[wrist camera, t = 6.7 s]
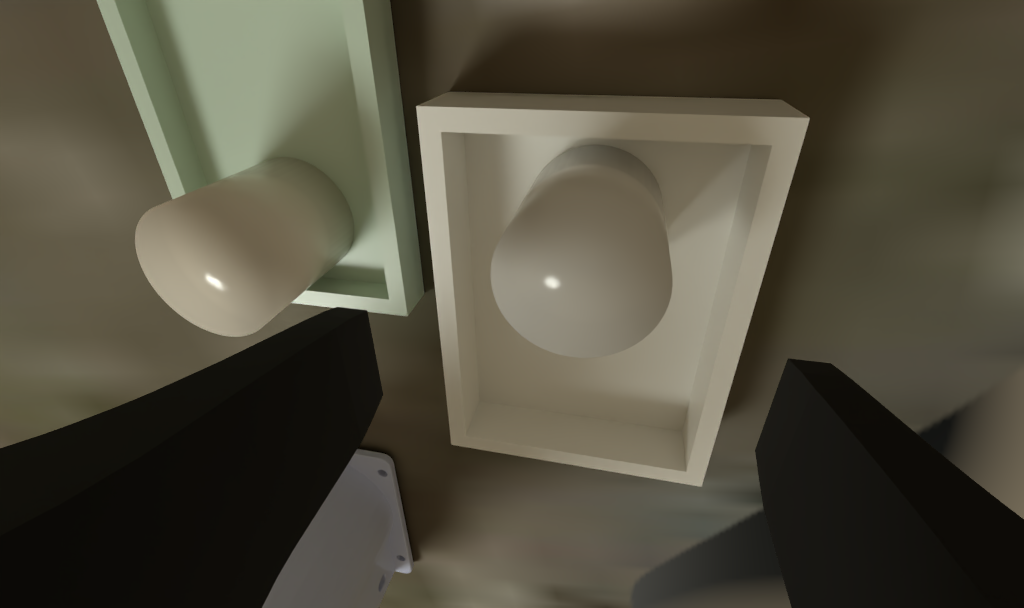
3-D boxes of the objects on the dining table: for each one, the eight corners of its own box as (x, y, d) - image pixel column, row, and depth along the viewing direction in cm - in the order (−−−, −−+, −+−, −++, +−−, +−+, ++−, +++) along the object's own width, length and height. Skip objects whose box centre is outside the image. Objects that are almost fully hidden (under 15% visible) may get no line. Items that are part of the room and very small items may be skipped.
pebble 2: (660, 273, 15) (667, 361, 11) (533, 272, 16) (500, 354, 12) (666, 140, 13) (678, 194, 9) (521, 148, 14) (479, 200, 10)
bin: (694, 433, 19) (701, 486, 17) (470, 400, 20) (451, 444, 18) (781, 99, 13) (810, 117, 10) (448, 91, 14) (416, 106, 12)
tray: (424, 293, 18) (407, 316, 17) (237, 273, 20) (208, 293, 18) (374, -132, 12) (341, -149, 11) (107, -113, 13) (48, -126, 12)
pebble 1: (363, 272, 17) (288, 344, 14) (265, 262, 18) (168, 328, 14) (342, 159, 15) (247, 209, 12) (232, 154, 16) (110, 198, 12)
